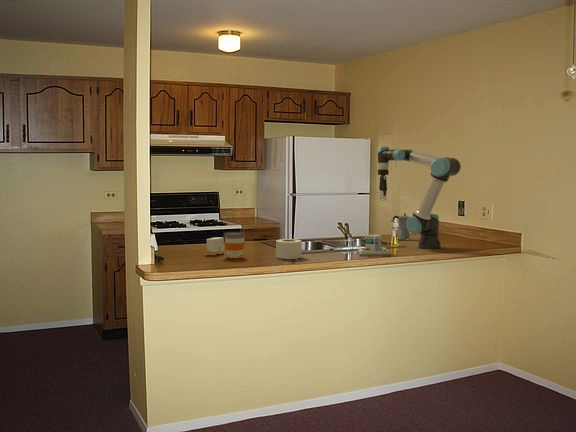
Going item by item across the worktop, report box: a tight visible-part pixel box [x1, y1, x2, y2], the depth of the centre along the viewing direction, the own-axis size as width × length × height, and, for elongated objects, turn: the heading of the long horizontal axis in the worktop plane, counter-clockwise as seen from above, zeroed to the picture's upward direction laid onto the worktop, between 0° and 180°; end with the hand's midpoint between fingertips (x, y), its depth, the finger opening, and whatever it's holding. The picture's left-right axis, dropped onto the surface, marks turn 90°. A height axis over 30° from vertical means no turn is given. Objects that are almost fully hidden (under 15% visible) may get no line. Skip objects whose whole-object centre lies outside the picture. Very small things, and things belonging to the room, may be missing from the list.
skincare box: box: [206, 236, 225, 252], centre depth 395 cm, size 10×6×10 cm, turn 152°
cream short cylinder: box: [275, 238, 303, 260], centre depth 379 cm, size 16×15×11 cm
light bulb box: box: [364, 234, 382, 251], centre depth 395 cm, size 11×7×11 cm, turn 148°
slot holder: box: [356, 246, 391, 257], centre depth 395 cm, size 19×19×3 cm
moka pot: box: [392, 212, 410, 241], centre depth 468 cm, size 10×15×20 cm, turn 78°
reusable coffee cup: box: [223, 231, 246, 256], centre depth 381 cm, size 13×12×15 cm
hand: (382, 200), depth 433 cm, fingers open, 13 cm apart
